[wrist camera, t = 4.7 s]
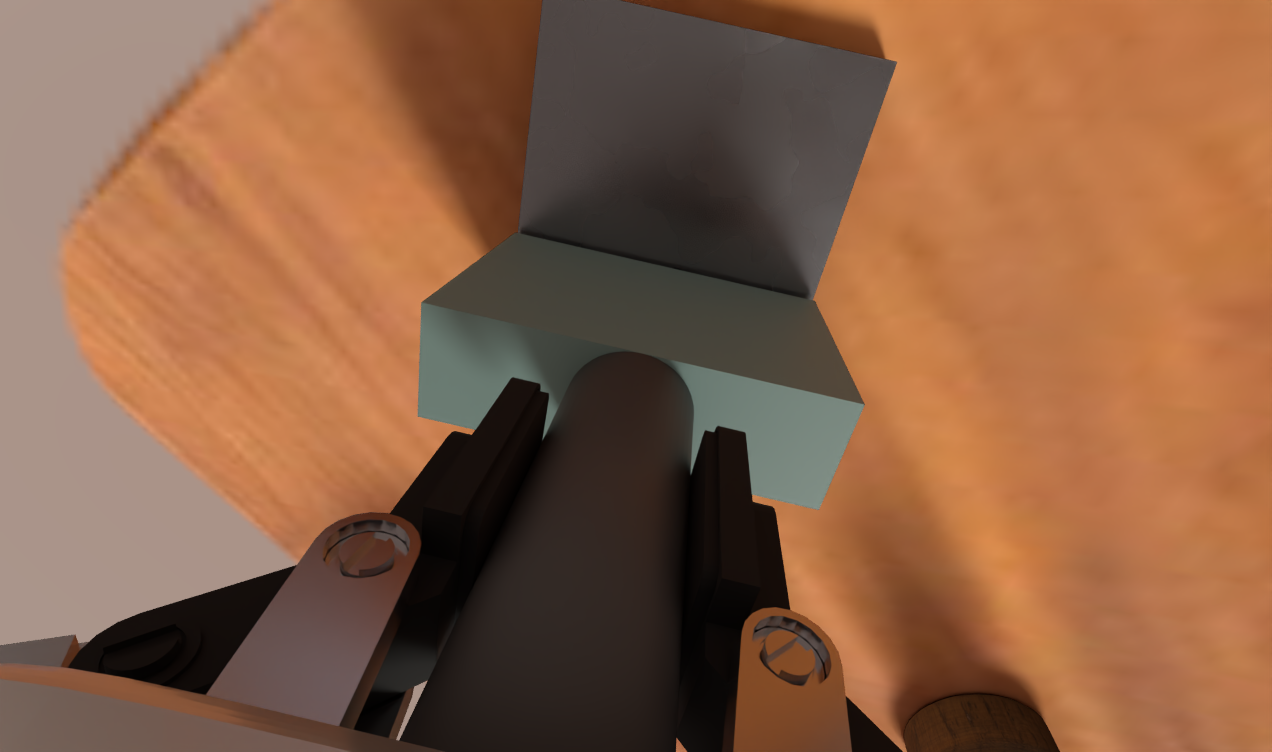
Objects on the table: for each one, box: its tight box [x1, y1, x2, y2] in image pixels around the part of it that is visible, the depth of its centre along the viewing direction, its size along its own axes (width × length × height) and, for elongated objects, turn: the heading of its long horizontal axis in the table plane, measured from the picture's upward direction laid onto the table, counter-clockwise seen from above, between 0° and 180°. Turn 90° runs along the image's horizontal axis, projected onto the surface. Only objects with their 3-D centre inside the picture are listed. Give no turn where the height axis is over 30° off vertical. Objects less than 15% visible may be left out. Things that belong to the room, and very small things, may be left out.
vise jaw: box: [399, 233, 865, 752], centre depth 13 cm, size 3×10×16 cm, turn 79°
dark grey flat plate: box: [518, 0, 897, 300], centre depth 19 cm, size 12×10×1 cm
